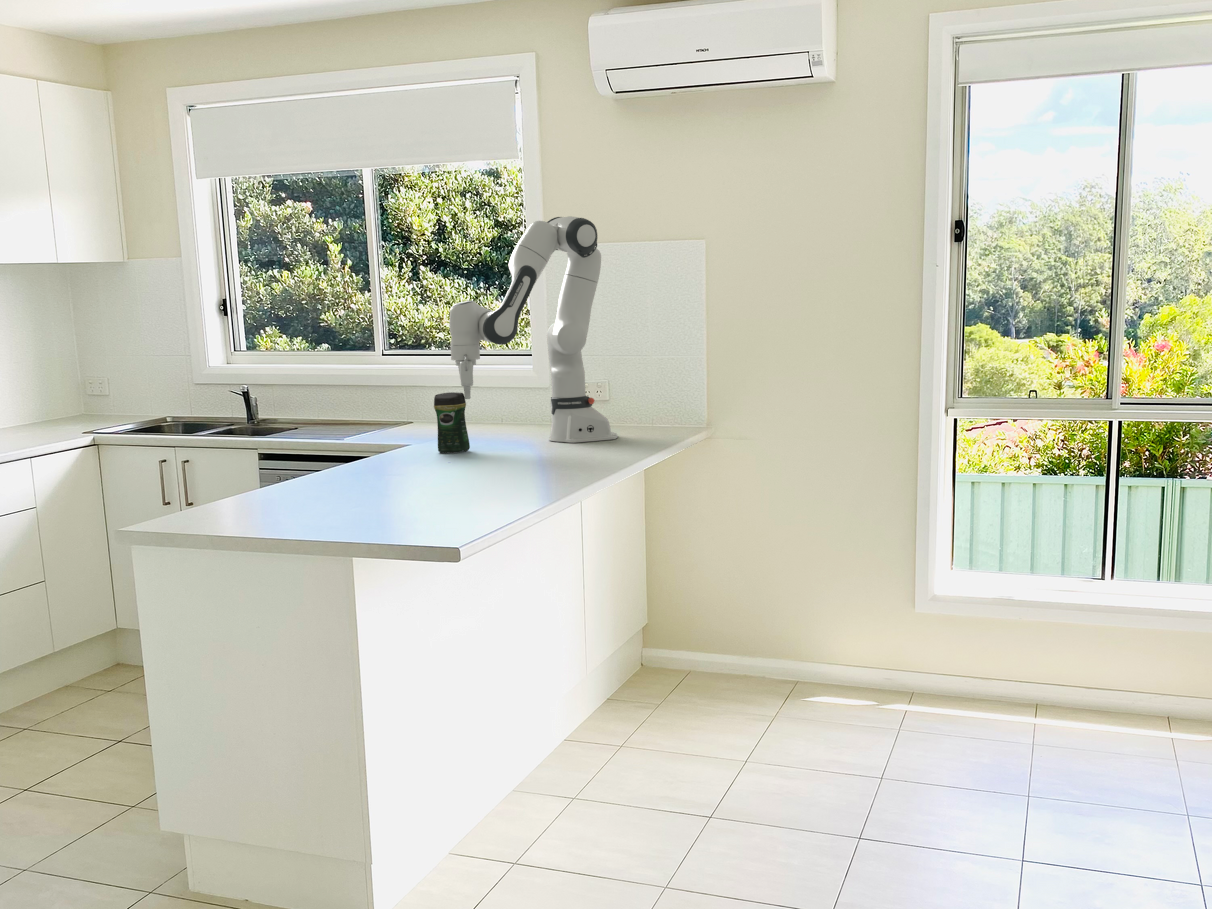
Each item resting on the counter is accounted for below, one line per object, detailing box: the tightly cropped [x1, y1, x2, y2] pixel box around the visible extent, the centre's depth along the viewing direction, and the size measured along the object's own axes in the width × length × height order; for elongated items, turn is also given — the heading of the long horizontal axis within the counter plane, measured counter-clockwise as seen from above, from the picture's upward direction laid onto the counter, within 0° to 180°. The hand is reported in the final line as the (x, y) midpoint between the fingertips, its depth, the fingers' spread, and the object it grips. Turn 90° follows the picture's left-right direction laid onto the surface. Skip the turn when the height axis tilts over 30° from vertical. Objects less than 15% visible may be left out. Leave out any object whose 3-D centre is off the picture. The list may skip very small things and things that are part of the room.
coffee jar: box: [433, 391, 471, 454], centre depth 340 cm, size 10×8×19 cm
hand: (467, 398), depth 339 cm, fingers closed
